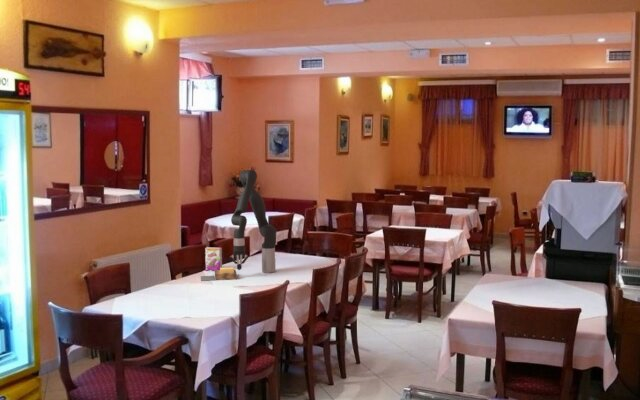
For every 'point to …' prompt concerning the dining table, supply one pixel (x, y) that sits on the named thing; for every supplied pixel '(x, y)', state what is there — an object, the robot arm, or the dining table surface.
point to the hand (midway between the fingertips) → (239, 269)
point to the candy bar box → (213, 258)
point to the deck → (225, 275)
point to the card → (227, 270)
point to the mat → (207, 278)
